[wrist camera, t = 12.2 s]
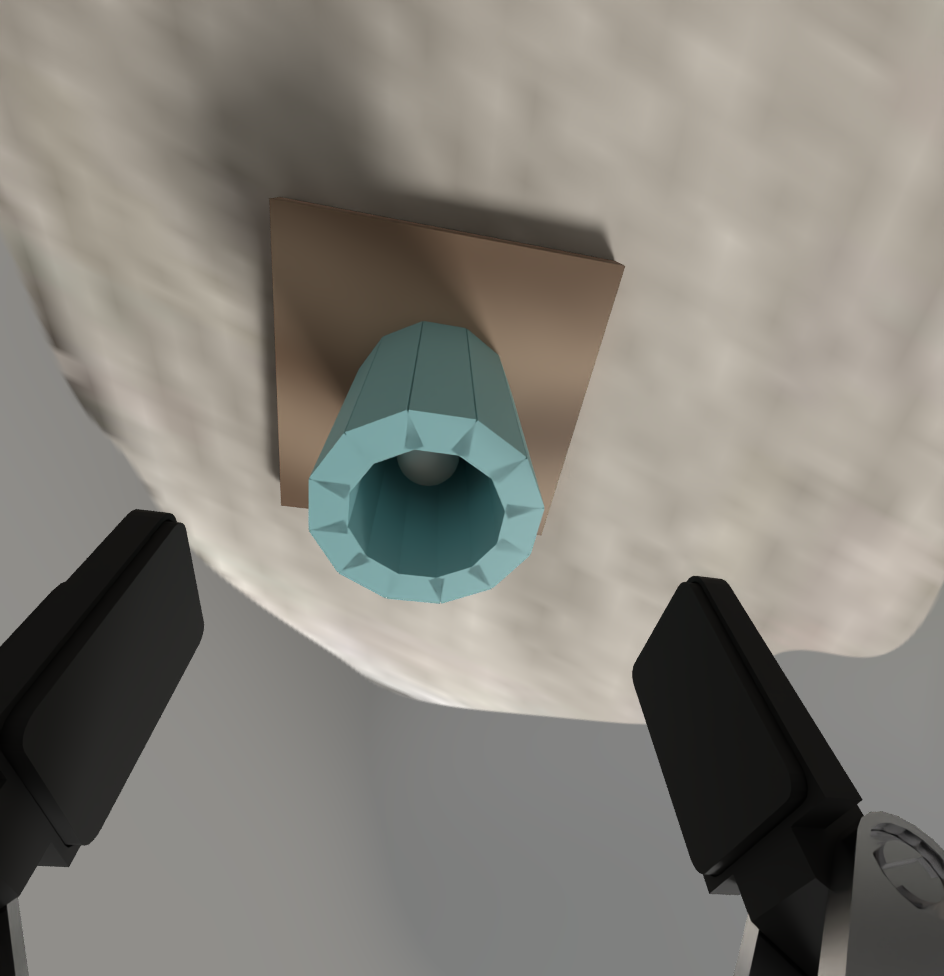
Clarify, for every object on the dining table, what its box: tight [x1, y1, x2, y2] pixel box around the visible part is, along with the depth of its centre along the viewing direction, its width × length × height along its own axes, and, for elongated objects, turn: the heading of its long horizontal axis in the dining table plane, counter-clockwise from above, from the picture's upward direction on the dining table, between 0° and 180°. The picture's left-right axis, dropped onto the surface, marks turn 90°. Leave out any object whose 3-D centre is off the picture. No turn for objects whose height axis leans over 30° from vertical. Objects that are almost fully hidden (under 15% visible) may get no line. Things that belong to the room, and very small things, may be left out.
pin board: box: [269, 197, 625, 535], centre depth 18 cm, size 12×12×7 cm
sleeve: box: [309, 321, 544, 604], centre depth 16 cm, size 6×6×8 cm
